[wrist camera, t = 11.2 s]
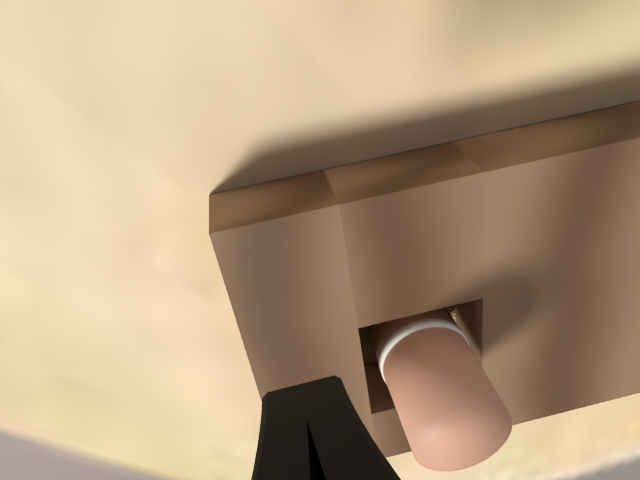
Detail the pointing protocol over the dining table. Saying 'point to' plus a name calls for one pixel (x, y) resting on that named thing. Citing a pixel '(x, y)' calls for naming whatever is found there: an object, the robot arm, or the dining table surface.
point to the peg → (440, 391)
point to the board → (450, 264)
